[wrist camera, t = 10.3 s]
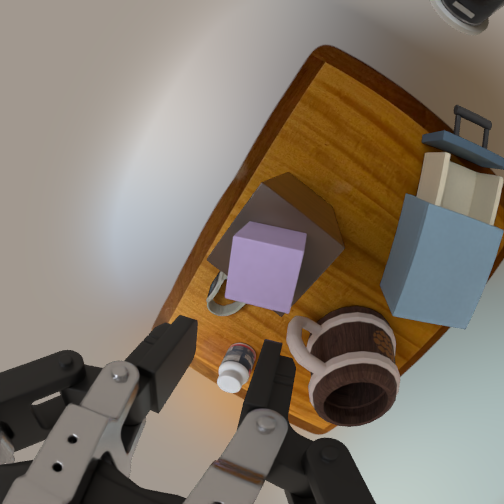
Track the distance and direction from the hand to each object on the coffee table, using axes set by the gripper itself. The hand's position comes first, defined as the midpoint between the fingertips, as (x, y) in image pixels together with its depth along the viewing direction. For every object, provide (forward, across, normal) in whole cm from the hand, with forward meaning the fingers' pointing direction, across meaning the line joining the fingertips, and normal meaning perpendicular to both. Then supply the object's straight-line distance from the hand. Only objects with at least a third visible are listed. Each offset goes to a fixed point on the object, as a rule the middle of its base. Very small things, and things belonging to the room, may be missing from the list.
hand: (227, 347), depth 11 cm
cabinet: (+32, -22, +1) cm, 39 cm away
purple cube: (+12, 0, 0) cm, 12 cm away
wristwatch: (+32, +7, +14) cm, 36 cm away
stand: (+32, 0, 0) cm, 32 cm away
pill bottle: (+32, +4, +27) cm, 42 cm away
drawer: (+31, -22, -11) cm, 40 cm away
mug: (+32, -12, +18) cm, 39 cm away
